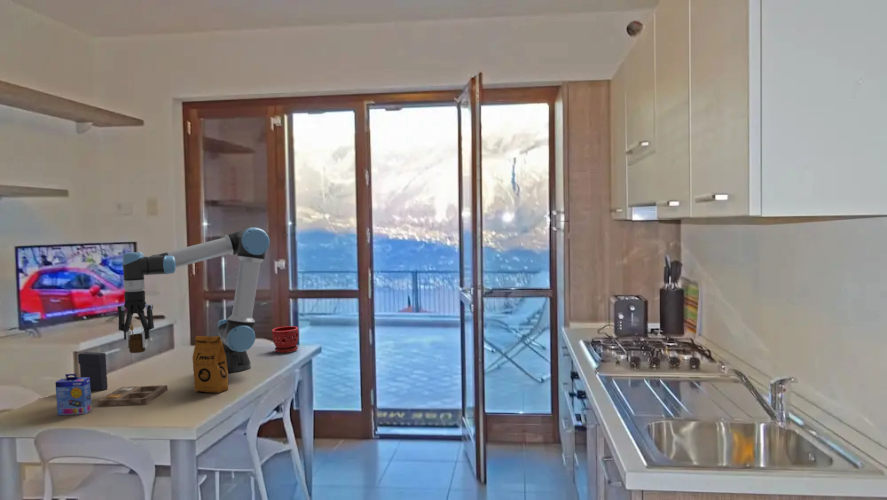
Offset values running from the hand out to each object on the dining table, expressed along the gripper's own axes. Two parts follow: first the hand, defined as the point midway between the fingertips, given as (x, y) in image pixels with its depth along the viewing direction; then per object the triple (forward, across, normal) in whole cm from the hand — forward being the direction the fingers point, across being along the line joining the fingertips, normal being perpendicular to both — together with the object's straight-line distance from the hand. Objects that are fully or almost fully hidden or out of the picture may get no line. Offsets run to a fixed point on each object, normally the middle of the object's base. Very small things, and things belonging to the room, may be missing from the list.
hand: (137, 347), depth 265 cm
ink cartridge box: (+17, -8, -32) cm, 38 cm away
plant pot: (+17, +43, +69) cm, 83 cm away
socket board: (+17, +4, -14) cm, 22 cm away
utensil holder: (+2, 0, 0) cm, 2 cm away
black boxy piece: (+17, -19, +2) cm, 26 cm away
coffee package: (+17, +32, -7) cm, 37 cm away
